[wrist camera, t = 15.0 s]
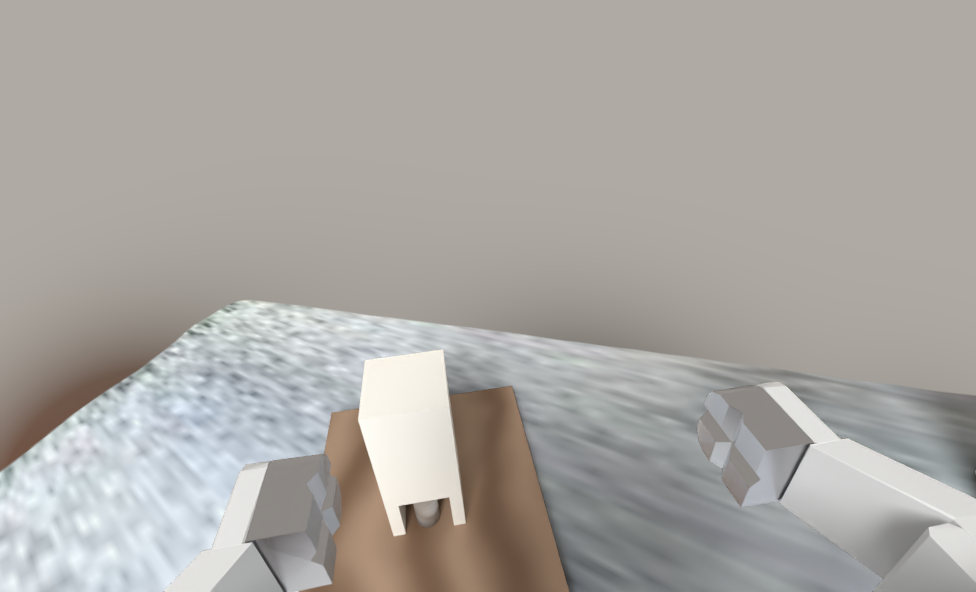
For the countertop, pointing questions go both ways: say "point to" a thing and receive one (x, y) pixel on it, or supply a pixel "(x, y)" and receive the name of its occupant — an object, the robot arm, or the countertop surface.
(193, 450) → the countertop surface
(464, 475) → the stub board
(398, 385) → the housing
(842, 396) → the countertop surface
